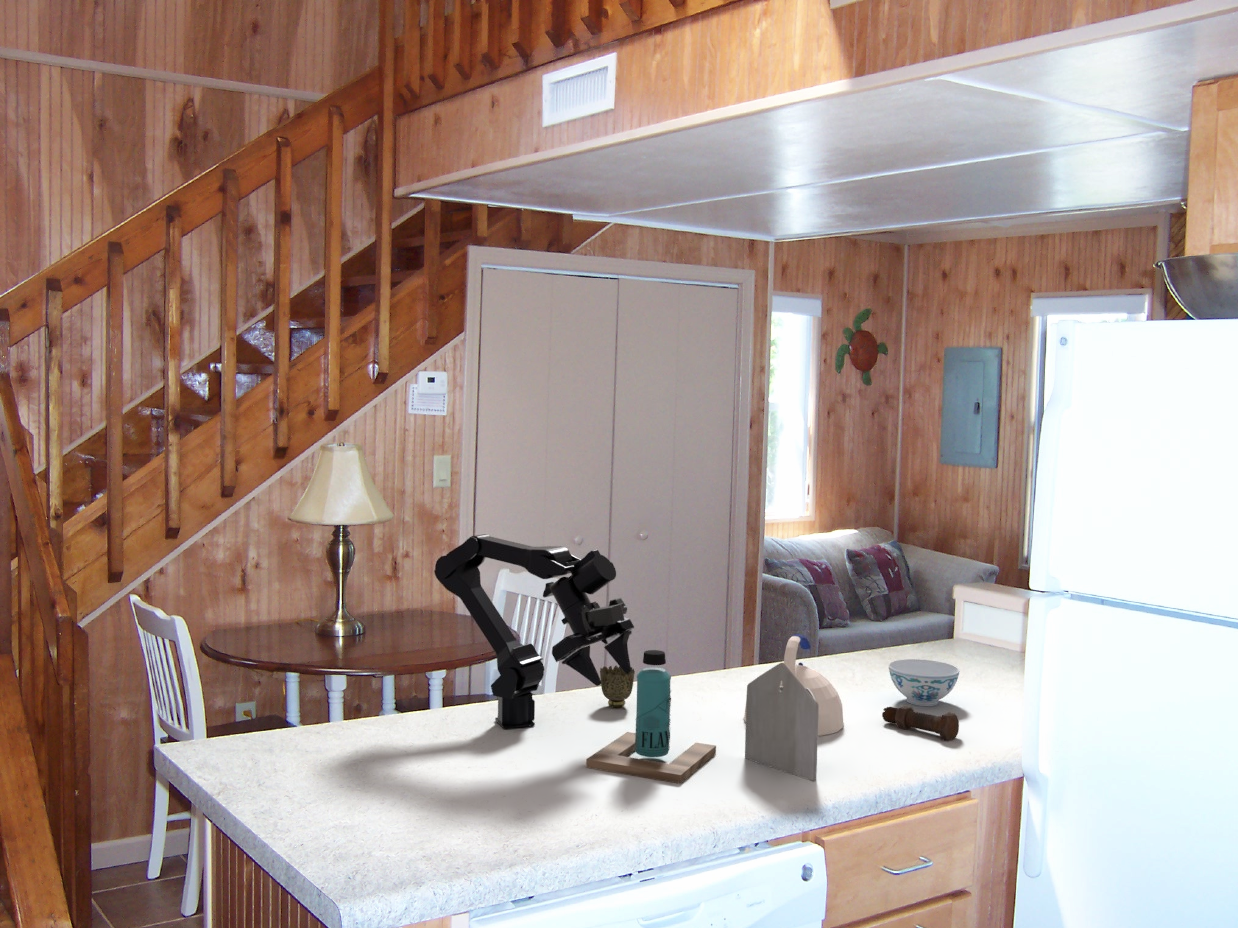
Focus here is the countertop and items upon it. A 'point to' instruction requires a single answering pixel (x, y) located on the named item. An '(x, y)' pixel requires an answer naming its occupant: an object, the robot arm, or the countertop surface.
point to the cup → (616, 685)
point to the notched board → (675, 771)
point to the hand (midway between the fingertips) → (614, 678)
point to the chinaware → (923, 680)
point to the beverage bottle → (653, 707)
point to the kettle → (815, 688)
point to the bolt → (923, 721)
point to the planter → (782, 723)
